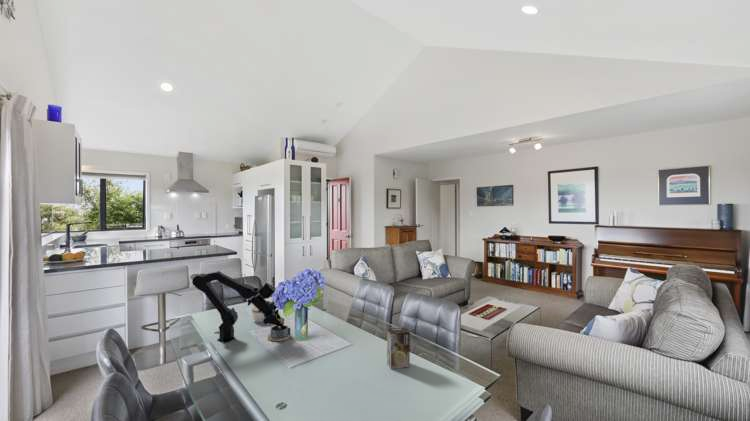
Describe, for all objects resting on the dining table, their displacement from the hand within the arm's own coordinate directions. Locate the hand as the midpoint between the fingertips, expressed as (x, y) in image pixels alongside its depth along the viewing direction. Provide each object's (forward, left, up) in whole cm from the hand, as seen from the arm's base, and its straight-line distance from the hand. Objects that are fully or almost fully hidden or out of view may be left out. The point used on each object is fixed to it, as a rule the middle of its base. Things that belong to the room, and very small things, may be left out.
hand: (282, 324), depth 176 cm
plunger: (-1, +1, -6) cm, 6 cm away
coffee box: (+1, -68, -7) cm, 68 cm away
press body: (-1, +1, -7) cm, 7 cm away
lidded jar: (+13, +29, -7) cm, 33 cm away
